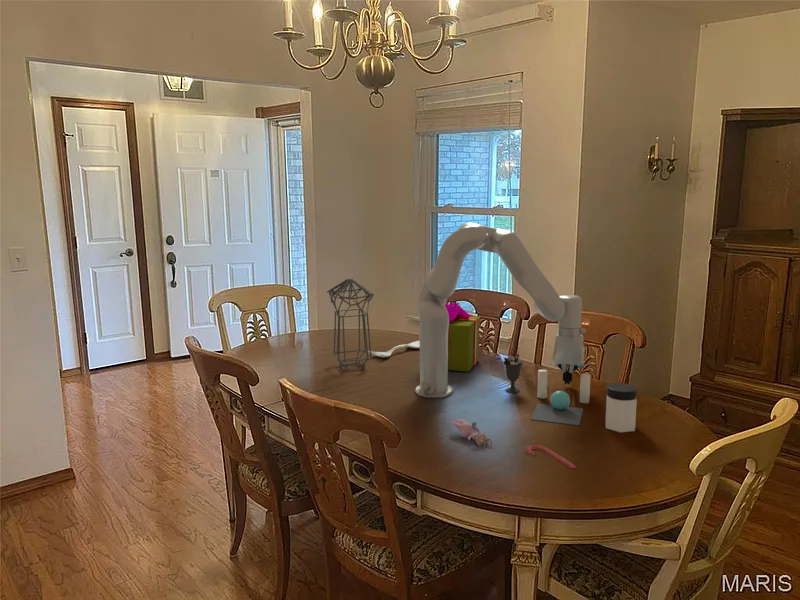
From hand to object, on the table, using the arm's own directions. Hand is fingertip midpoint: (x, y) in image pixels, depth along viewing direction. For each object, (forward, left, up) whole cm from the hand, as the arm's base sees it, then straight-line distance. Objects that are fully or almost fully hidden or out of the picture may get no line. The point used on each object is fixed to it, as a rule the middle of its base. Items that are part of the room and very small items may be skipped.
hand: (567, 382), depth 209 cm
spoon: (+25, +71, -2) cm, 75 cm away
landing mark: (-27, 0, -2) cm, 27 cm away
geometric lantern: (-3, +81, -2) cm, 81 cm away
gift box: (+13, +45, -2) cm, 47 cm away
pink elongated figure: (-53, +21, -2) cm, 57 cm away
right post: (-13, -7, -2) cm, 15 cm away
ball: (-23, 0, +2) cm, 23 cm away
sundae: (-10, +17, -2) cm, 20 cm away
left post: (-13, +7, -2) cm, 15 cm away
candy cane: (-58, -2, -2) cm, 58 cm away
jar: (-31, -18, -2) cm, 36 cm away
